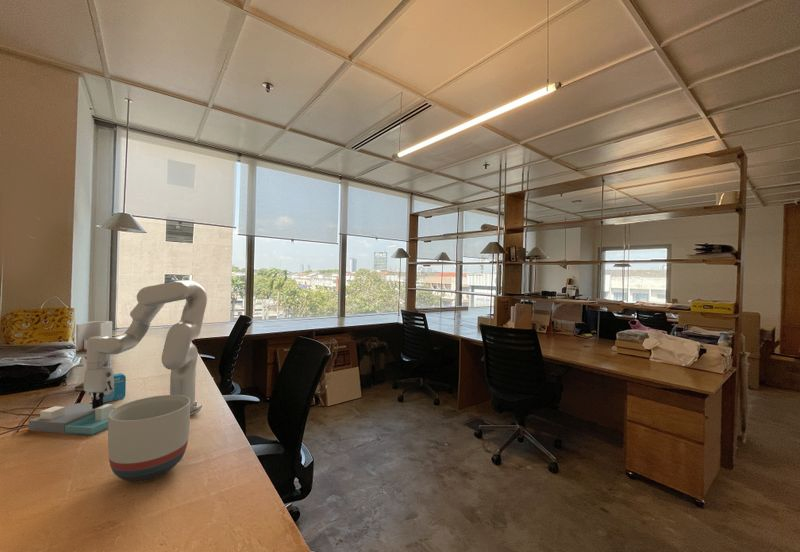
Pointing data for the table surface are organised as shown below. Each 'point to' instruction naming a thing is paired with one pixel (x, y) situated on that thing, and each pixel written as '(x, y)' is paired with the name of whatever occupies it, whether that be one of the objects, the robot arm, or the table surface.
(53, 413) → the beige block
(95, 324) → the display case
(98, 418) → the beige block
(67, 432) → the box
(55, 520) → the table surface
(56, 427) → the plate
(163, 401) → the planter
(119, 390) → the data package
